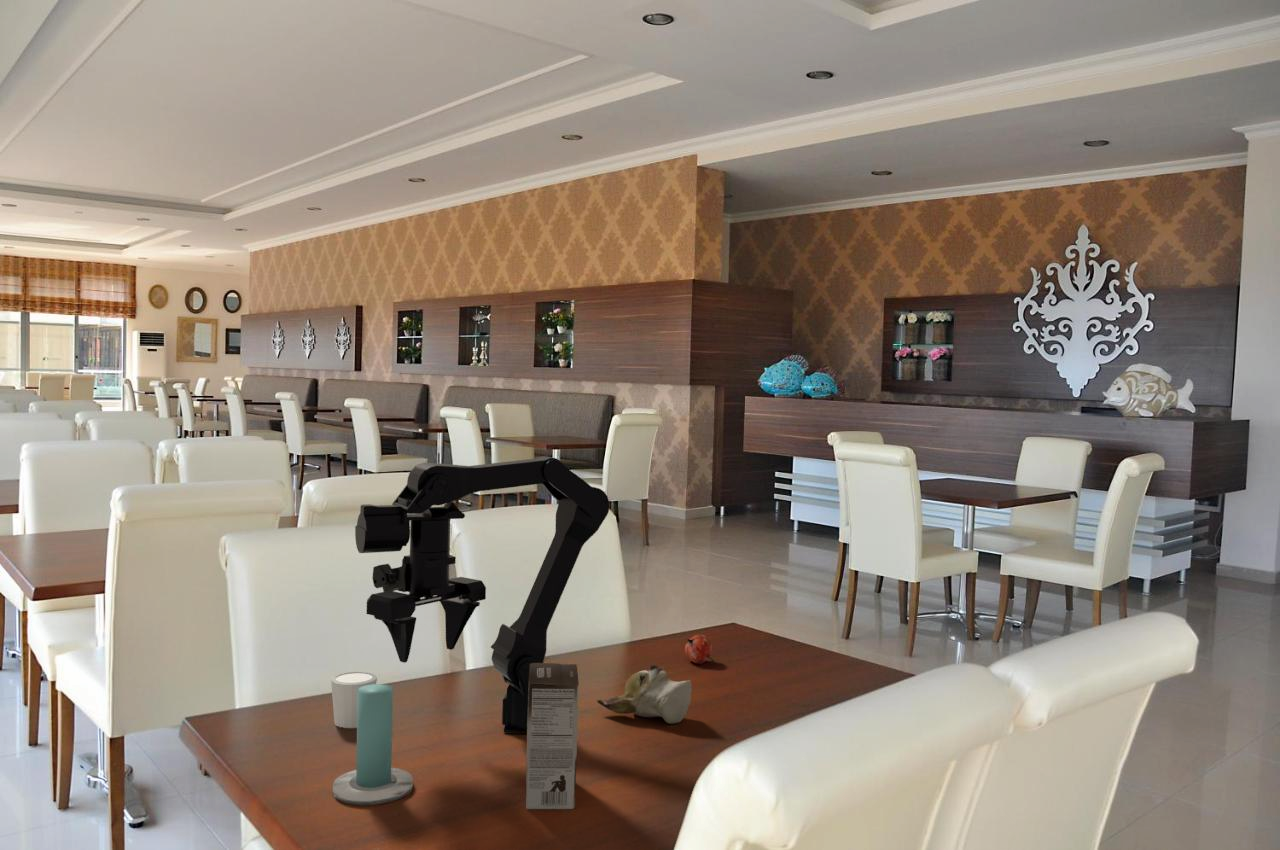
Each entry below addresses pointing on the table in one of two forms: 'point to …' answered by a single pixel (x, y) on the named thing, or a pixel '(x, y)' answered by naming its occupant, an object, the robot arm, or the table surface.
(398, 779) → the hub disc
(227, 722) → the table surface
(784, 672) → the table surface
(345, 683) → the white candle cup
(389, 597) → the robot arm
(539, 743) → the coffee box
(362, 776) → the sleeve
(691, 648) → the pomegranate
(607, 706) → the ceramic sculpture
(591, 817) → the table surface
